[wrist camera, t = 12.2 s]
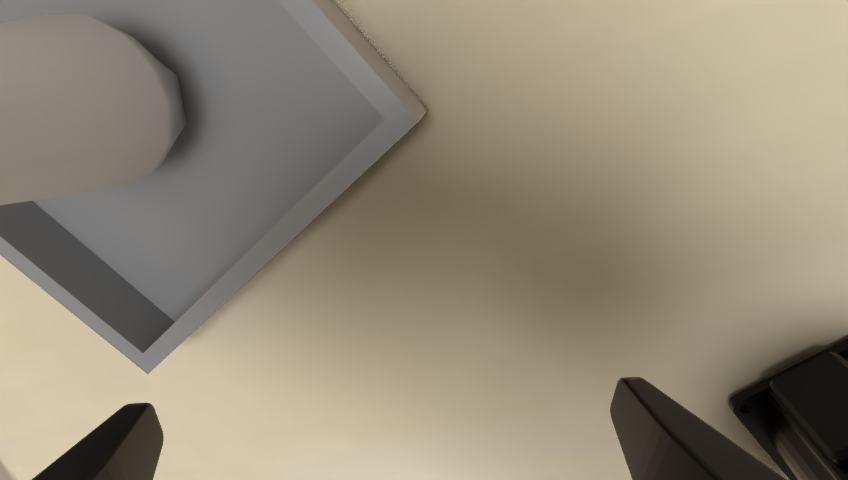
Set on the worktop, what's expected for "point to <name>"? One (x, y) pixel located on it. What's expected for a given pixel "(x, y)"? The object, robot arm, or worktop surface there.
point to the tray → (212, 163)
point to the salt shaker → (80, 108)
